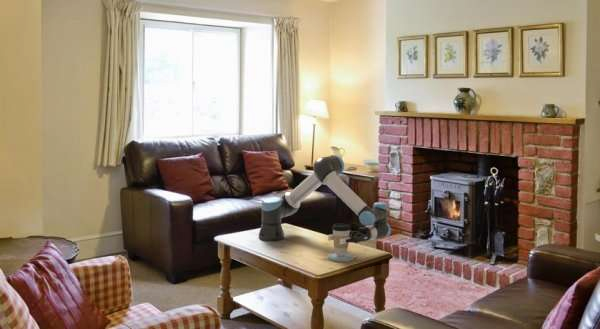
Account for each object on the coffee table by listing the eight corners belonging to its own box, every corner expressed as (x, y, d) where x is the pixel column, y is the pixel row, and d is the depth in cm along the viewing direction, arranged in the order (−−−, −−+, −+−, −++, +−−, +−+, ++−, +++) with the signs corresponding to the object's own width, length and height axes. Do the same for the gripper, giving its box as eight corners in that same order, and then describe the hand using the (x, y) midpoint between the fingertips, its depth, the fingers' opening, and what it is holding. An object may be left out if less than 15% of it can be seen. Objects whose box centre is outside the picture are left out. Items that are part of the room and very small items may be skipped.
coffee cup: (349, 256, 298) (349, 228, 296) (330, 255, 300) (330, 227, 298) (351, 251, 308) (351, 223, 306) (333, 250, 310) (333, 222, 308)
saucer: (328, 253, 312) (329, 251, 312) (355, 255, 310) (355, 252, 310) (326, 261, 298) (326, 258, 298) (353, 262, 296) (353, 260, 296)
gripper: (380, 244, 305) (347, 251, 292) (353, 236, 322) (321, 242, 309) (380, 230, 304) (348, 237, 291) (353, 222, 321) (321, 228, 308)
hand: (334, 239), depth 300 cm, fingers closed on coffee cup, 9 cm apart
